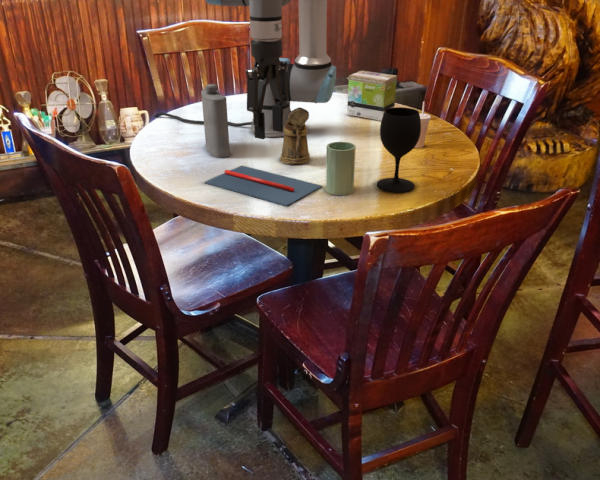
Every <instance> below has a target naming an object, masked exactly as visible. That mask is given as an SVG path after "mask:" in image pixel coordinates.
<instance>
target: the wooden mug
mask: <svg viewBox="0 0 600 480" xmlns="http://www.w3.org/2000/svg"><path fill="white" fill-rule="evenodd" d="M309 117H310V113H309V111H308V110H307V109H305V108H303V107H296V108H294V109H292V110H291V112H290V113H289V114H288V121H287V122H286V123H285V127H284V136H283V141H282V148H281V153H280V158H279V161H280V162H281V163H284V164H286V165H292V166H296V165H297V166H298V165H299V166H300V165H305V164H307V163H310V161H311V154H310V151H309V145H308V138H307V137H308V136H307V135H308V134H309V132H308V127H307V125H306V122H307V121H308V120H309Z"/></svg>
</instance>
